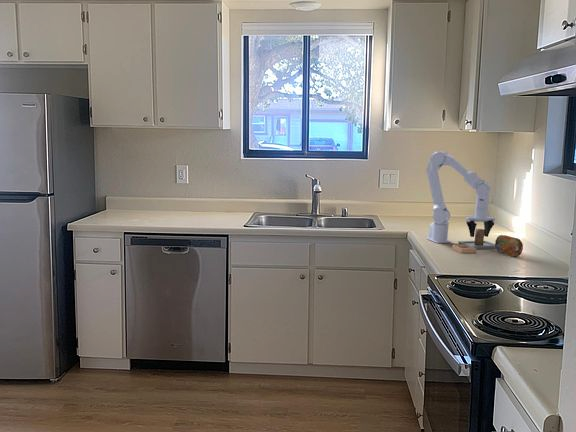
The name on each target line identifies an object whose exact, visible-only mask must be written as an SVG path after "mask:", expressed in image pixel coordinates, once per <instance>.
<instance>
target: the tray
mask: <svg viewBox="0 0 576 432" xmlns="http://www.w3.org/2000/svg"><path fill="white" fill-rule="evenodd" d="M474 242H475V240H460V241H459V240H458V242H457V245H469V246H471V247H474V248H476V250H492V249H493V250H496V247H495V243H493V242H490V241H487V240H484V241H483V246H477V245H474Z"/></svg>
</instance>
